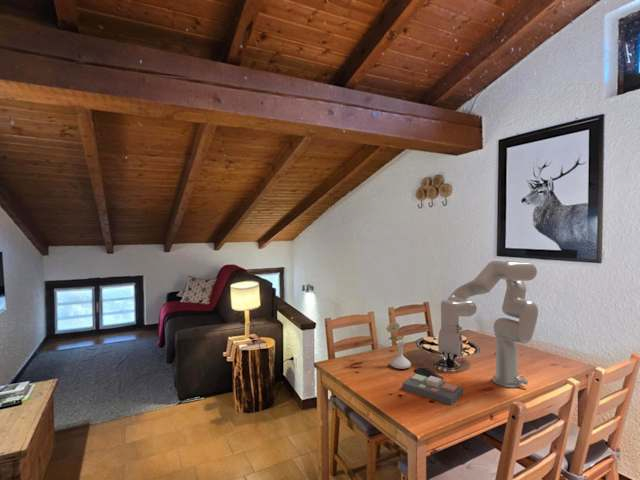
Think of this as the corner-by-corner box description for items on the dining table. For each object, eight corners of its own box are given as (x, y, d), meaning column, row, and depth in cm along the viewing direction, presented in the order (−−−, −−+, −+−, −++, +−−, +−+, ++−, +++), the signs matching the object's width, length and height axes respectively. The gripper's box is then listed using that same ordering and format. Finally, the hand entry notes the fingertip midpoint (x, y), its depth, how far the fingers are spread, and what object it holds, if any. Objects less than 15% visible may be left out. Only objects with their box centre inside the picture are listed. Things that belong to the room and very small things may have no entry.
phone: (425, 367, 188) (443, 378, 174) (425, 369, 188) (443, 380, 174) (412, 369, 185) (430, 380, 171) (413, 371, 185) (430, 382, 171)
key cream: (441, 385, 163) (441, 378, 163) (437, 389, 159) (437, 382, 159) (431, 381, 167) (431, 375, 167) (426, 385, 163) (426, 379, 163)
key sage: (426, 383, 168) (426, 376, 168) (421, 386, 164) (421, 380, 164) (416, 379, 172) (416, 373, 172) (411, 383, 168) (411, 377, 168)
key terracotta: (457, 392, 158) (457, 386, 158) (453, 396, 154) (453, 390, 154) (446, 388, 162) (446, 382, 162) (441, 393, 158) (441, 386, 158)
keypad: (462, 393, 159) (462, 386, 159) (451, 405, 149) (451, 398, 148) (416, 379, 174) (416, 373, 174) (402, 389, 164) (402, 382, 164)
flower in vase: (409, 362, 196) (408, 319, 195) (412, 371, 185) (412, 324, 184) (385, 362, 197) (385, 319, 197) (387, 370, 186) (387, 324, 185)
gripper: (469, 328, 155) (469, 369, 155) (437, 323, 165) (437, 361, 165) (463, 332, 149) (463, 374, 150) (430, 326, 159) (431, 365, 160)
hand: (450, 367), depth 158 cm, fingers closed
